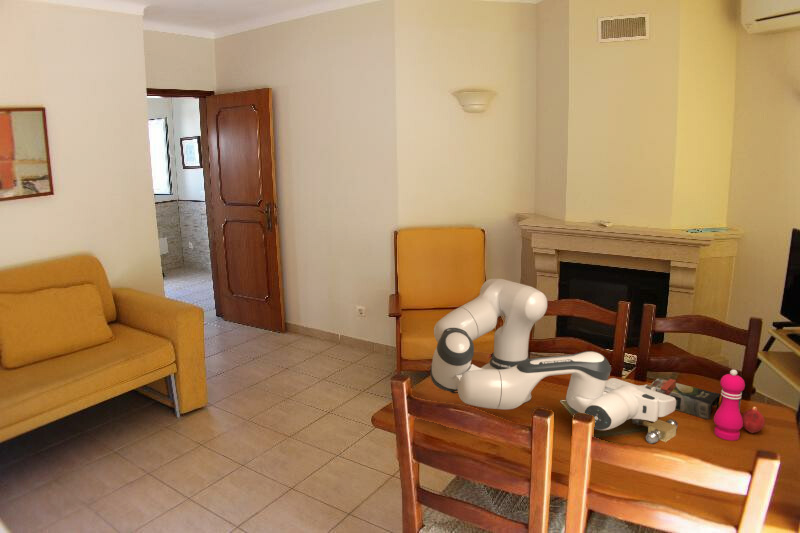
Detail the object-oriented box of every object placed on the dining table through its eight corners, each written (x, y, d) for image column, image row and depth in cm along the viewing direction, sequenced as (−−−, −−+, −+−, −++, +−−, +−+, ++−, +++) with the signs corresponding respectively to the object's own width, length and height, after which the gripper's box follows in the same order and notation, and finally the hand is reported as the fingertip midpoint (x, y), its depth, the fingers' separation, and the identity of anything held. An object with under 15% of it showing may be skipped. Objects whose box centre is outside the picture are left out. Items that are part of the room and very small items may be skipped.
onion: (763, 439, 161) (766, 413, 159) (739, 434, 164) (742, 408, 162) (763, 431, 165) (766, 405, 164) (740, 426, 168) (743, 401, 167)
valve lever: (631, 418, 169) (669, 378, 181) (632, 424, 169) (670, 384, 182) (638, 420, 167) (675, 380, 180) (638, 427, 168) (676, 386, 180)
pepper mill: (745, 442, 159) (753, 375, 155) (717, 440, 160) (724, 373, 156) (735, 430, 166) (743, 365, 162) (708, 428, 167) (715, 364, 163)
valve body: (628, 435, 164) (629, 425, 163) (652, 420, 173) (653, 411, 172) (658, 447, 157) (659, 437, 157) (682, 431, 166) (683, 421, 165)
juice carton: (642, 401, 186) (644, 383, 184) (654, 391, 192) (655, 374, 191) (709, 421, 172) (711, 402, 171) (719, 410, 179) (721, 392, 177)
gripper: (593, 399, 171) (618, 387, 180) (660, 424, 156) (683, 409, 165) (595, 380, 170) (619, 368, 179) (662, 402, 155) (685, 388, 163)
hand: (651, 388), depth 172 cm, fingers closed
